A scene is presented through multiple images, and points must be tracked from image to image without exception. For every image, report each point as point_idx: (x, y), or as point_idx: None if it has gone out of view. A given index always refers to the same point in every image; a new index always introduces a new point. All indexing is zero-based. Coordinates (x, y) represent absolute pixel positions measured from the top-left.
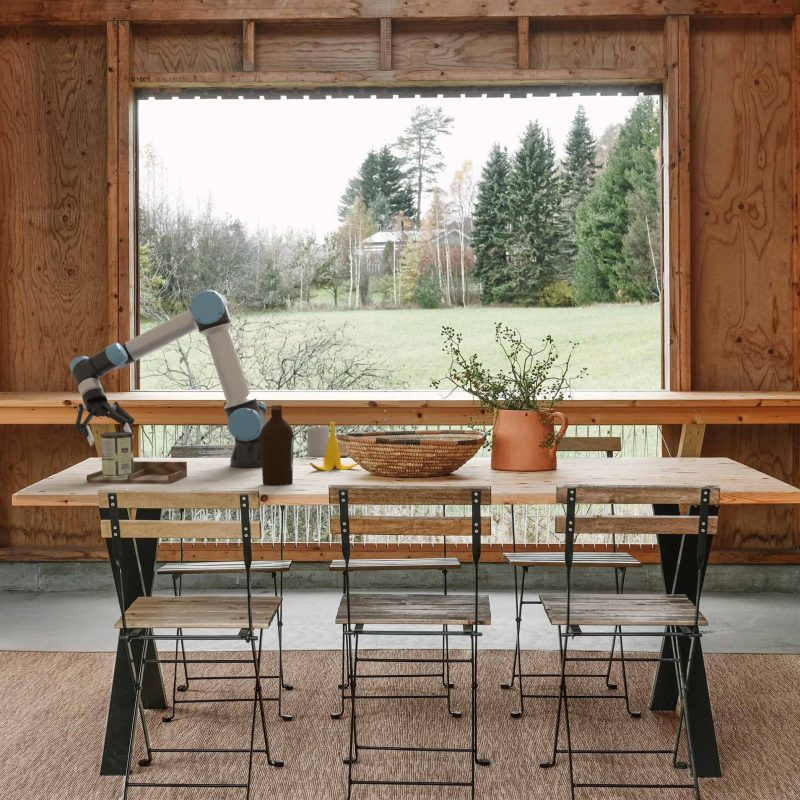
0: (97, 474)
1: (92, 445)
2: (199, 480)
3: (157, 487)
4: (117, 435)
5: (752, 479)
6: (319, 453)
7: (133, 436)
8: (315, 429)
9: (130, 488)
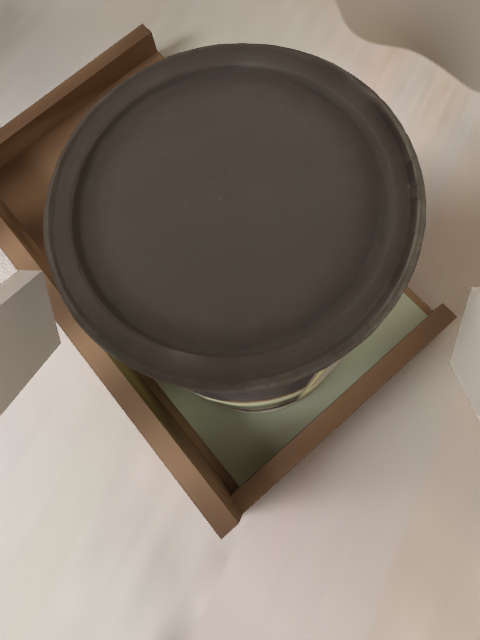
0: (358, 379)
1: (453, 358)
2: (23, 58)
3: (250, 4)
4: (304, 55)
5: None
6: None
7: (13, 276)
8: None
9: (347, 44)
